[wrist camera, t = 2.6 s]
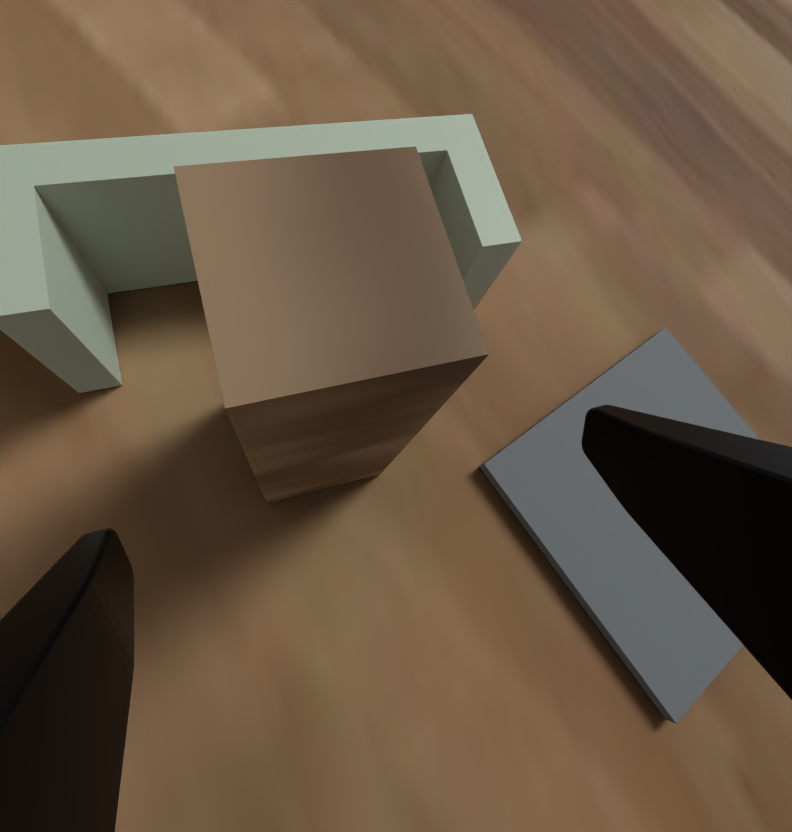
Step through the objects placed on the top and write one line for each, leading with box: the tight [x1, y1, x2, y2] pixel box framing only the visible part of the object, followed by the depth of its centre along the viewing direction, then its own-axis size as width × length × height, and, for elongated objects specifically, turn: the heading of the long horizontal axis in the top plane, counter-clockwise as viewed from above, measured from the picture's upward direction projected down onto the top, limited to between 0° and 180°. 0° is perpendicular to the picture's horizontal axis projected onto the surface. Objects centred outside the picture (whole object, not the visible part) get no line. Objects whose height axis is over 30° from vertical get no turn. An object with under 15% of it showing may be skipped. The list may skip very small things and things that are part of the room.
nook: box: [0, 114, 522, 393], centre depth 19 cm, size 16×6×6 cm, turn 106°
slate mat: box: [480, 328, 760, 723], centre depth 22 cm, size 12×12×1 cm
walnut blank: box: [173, 146, 489, 504], centre depth 14 cm, size 4×4×12 cm
